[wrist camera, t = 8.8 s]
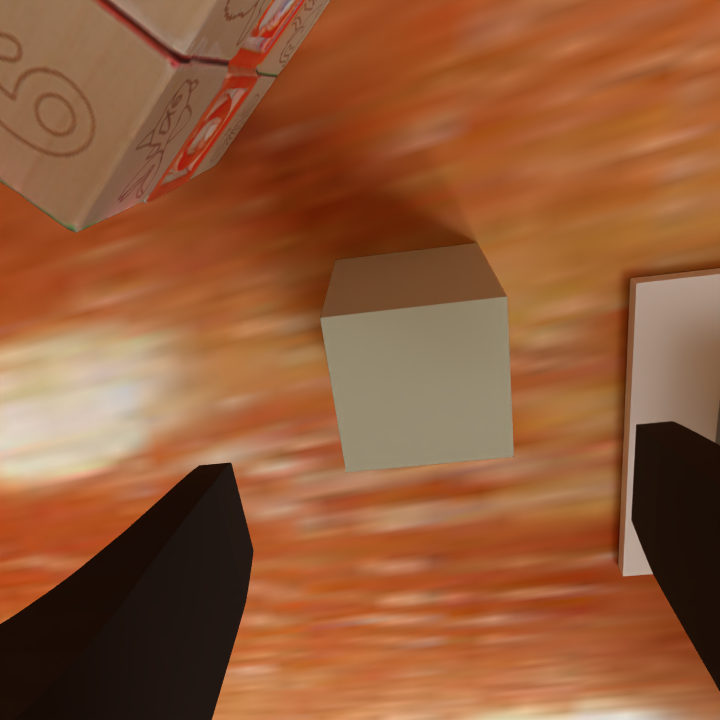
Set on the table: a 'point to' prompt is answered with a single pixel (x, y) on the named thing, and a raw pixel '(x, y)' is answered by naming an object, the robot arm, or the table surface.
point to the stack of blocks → (131, 93)
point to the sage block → (419, 358)
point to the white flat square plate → (668, 374)
